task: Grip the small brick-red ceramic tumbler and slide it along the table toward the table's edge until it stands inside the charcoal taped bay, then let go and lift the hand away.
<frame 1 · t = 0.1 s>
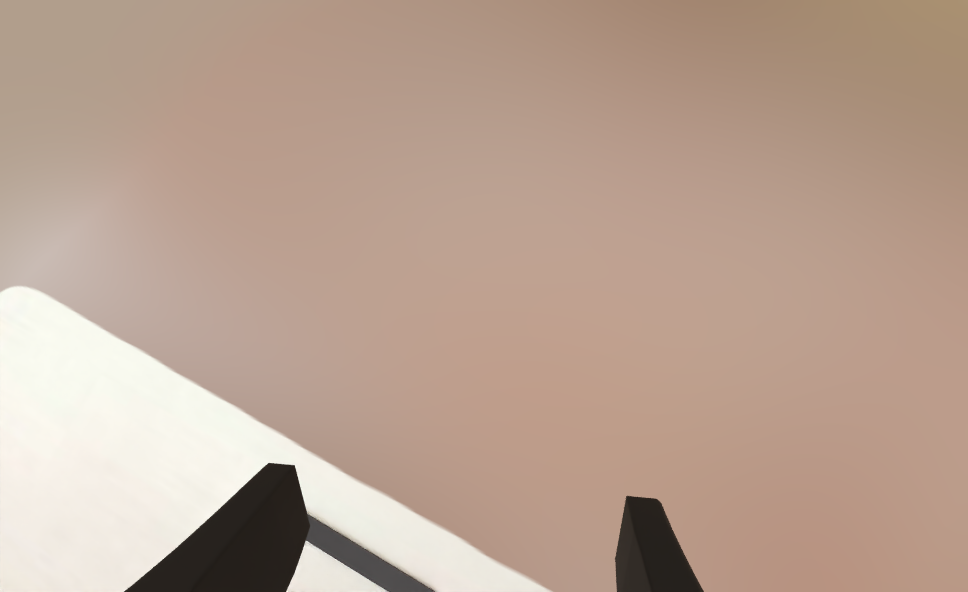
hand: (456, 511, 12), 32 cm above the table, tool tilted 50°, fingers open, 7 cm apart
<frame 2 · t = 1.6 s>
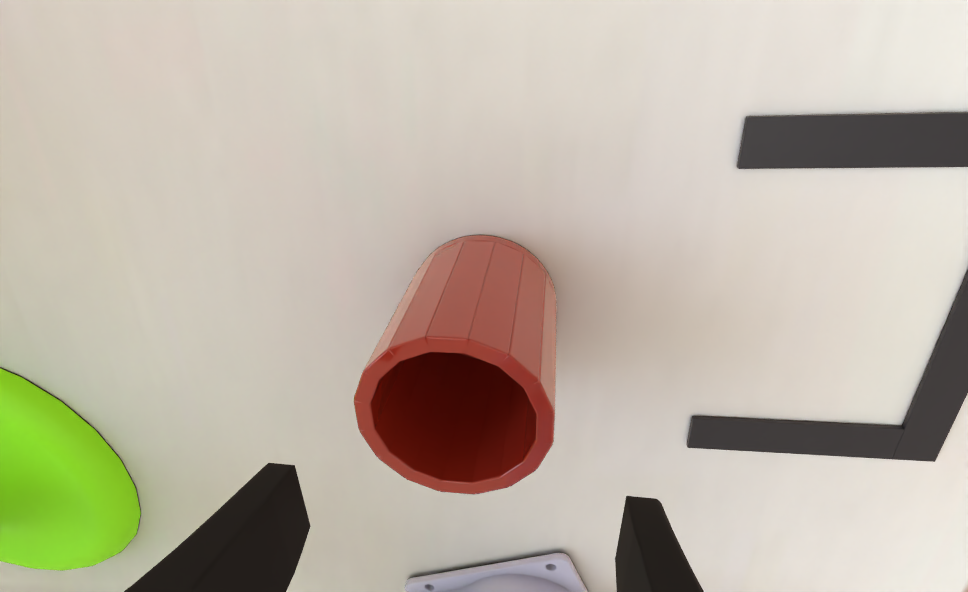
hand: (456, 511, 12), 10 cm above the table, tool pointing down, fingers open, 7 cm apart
wineglass: (4, 466, 30), on the table
tape bay: (812, 309, 20), on the table
tumbler: (484, 301, 21), on the table
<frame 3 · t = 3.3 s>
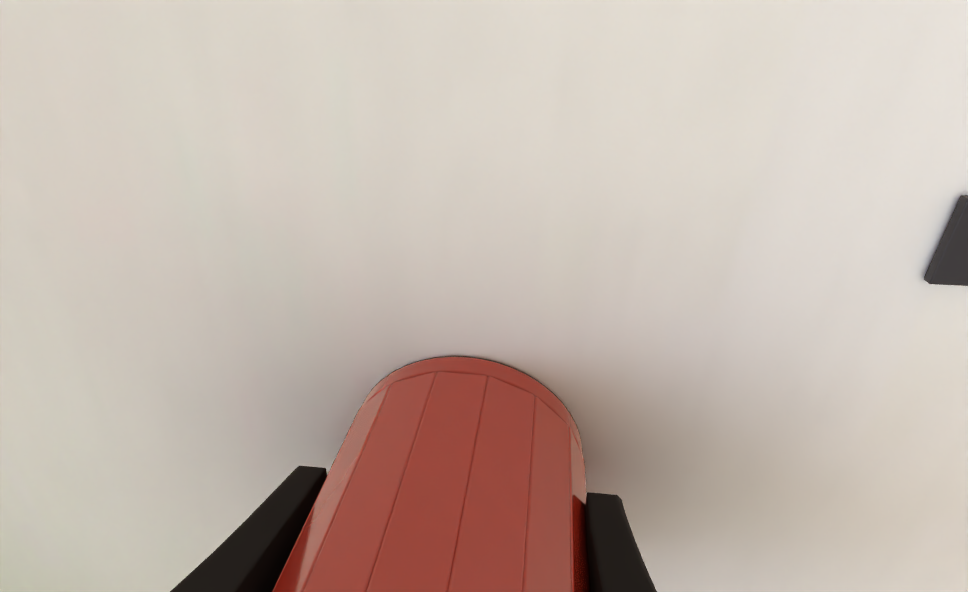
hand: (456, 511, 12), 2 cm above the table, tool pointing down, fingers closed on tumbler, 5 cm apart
tumbler: (467, 447, 13), on the table, touching gripper
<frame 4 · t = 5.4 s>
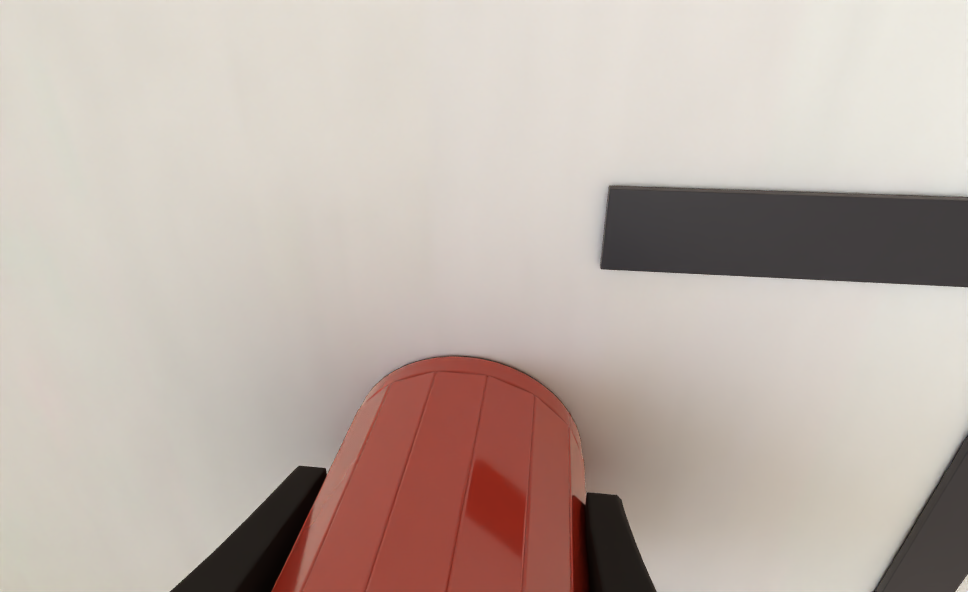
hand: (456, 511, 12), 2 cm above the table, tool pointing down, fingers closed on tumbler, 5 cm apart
tape bay: (728, 470, 13), on the table
tumbler: (467, 446, 13), on the table, touching gripper
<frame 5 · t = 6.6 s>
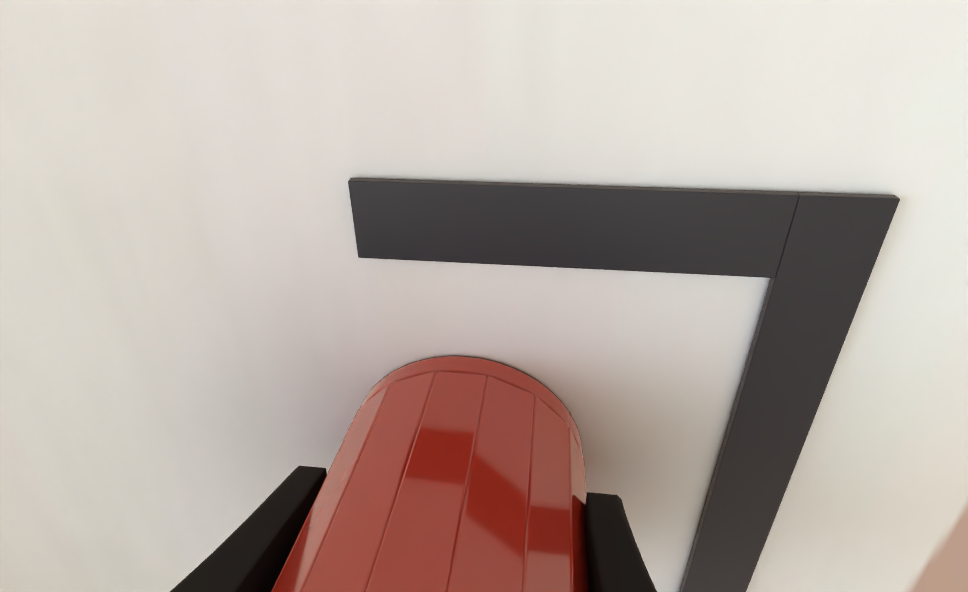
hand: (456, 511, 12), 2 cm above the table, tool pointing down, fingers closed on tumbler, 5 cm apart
tape bay: (524, 452, 13), on the table
tumbler: (467, 446, 13), on the table, touching gripper
when the fingers open (2 cm above the table, at t = 7.5 s): tumbler stays where it is, on the table.
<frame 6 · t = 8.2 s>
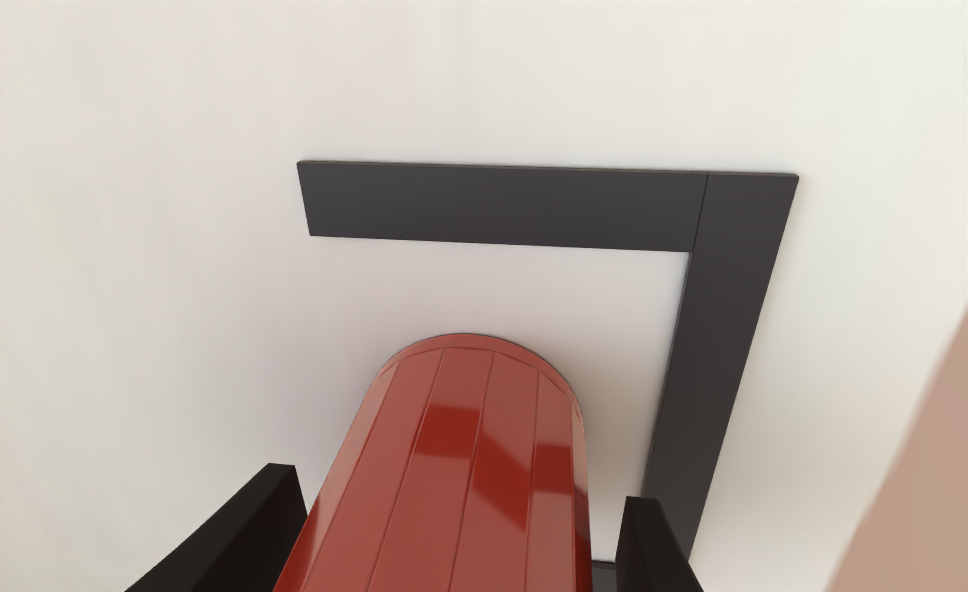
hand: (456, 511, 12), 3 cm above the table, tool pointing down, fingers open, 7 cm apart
tape bay: (475, 422, 14), on the table
tumbler: (473, 422, 14), on the table
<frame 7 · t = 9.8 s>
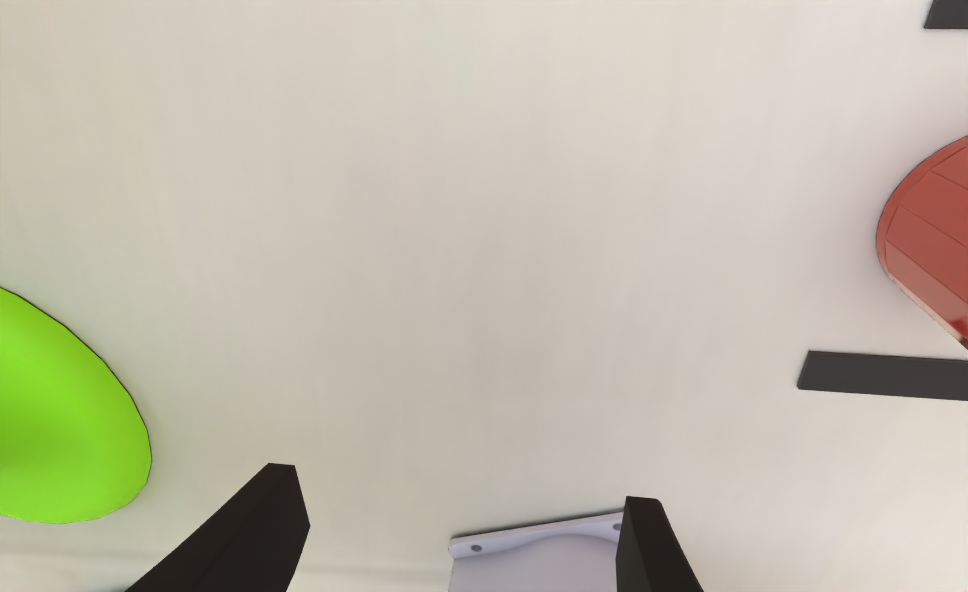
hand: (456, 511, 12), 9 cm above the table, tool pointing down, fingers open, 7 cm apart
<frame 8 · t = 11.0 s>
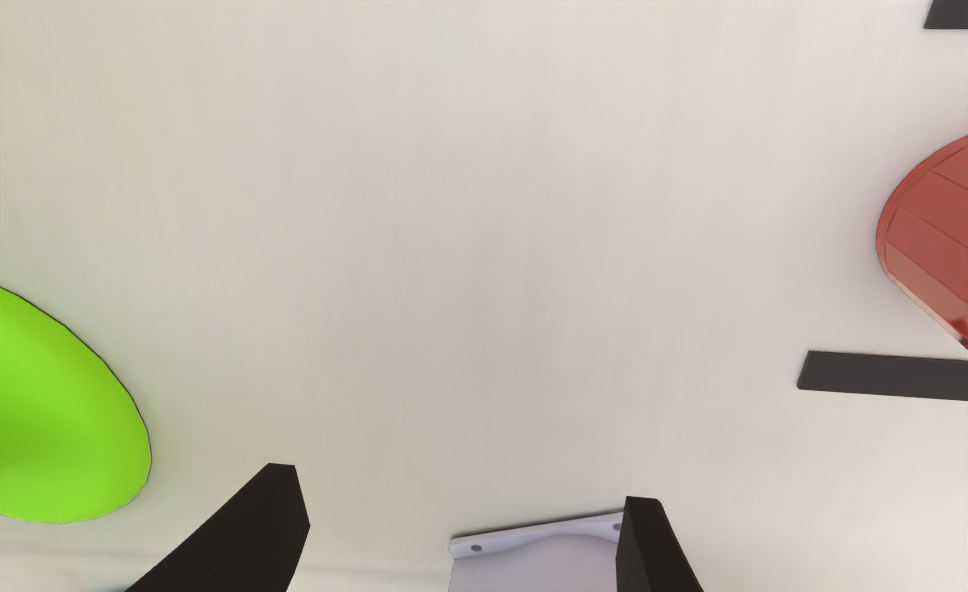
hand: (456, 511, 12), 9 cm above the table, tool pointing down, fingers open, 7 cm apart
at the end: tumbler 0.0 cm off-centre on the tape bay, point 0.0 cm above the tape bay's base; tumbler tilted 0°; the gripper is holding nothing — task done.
